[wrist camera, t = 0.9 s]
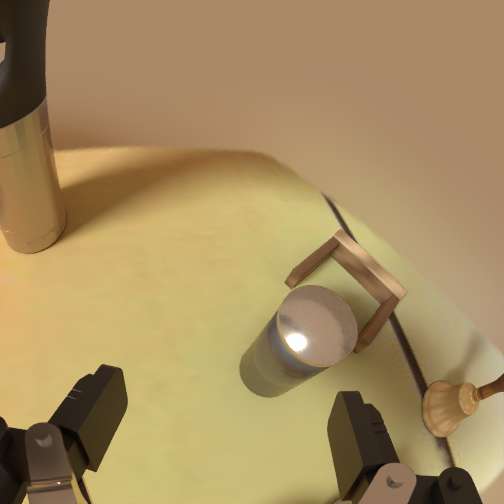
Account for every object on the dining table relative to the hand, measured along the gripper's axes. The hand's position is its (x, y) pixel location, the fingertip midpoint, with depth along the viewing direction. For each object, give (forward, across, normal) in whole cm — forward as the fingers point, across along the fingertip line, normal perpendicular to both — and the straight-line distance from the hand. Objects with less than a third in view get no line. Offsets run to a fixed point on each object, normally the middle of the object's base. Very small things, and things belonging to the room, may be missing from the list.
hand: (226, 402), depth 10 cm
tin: (+18, -3, +12) cm, 21 cm away
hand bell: (+17, -28, +19) cm, 38 cm away
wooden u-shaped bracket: (+28, -12, +7) cm, 31 cm away
